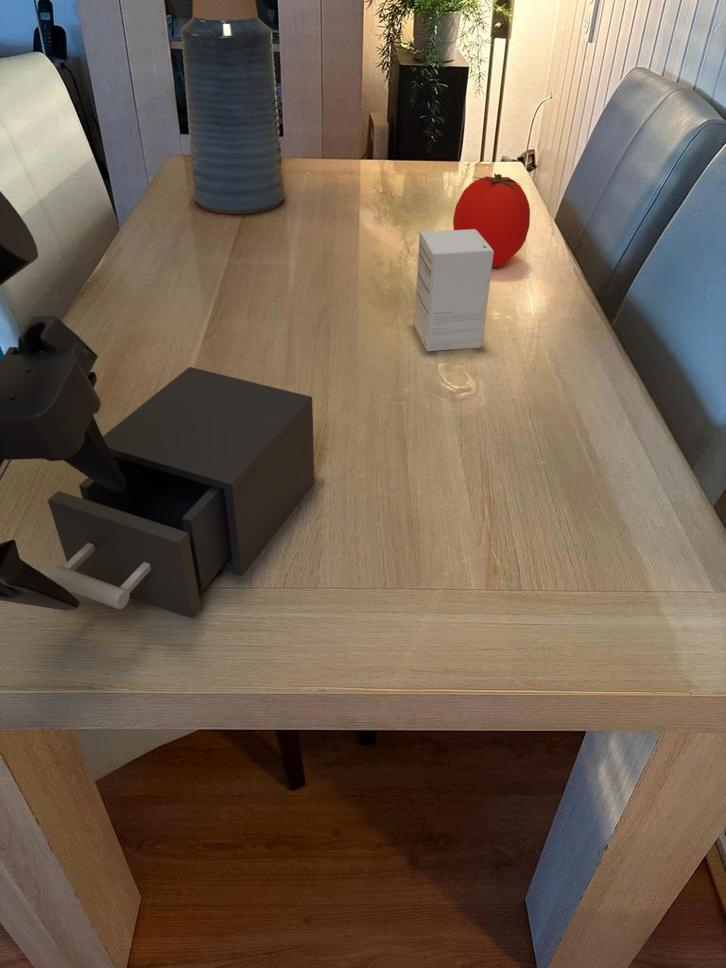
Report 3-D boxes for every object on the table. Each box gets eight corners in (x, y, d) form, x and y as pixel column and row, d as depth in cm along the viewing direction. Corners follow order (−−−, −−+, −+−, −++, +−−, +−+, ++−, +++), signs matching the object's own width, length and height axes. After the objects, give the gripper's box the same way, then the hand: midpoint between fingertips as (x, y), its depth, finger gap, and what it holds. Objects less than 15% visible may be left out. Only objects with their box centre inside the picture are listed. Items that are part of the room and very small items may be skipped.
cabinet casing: (242, 576, 61) (232, 484, 55) (115, 534, 65) (93, 443, 59) (314, 483, 71) (312, 396, 65) (201, 450, 74) (189, 366, 69)
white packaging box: (466, 322, 98) (477, 227, 91) (482, 349, 93) (496, 250, 85) (412, 325, 97) (418, 229, 90) (424, 352, 92) (433, 252, 84)
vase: (179, 196, 137) (153, -8, 117) (256, 182, 145) (244, -12, 125) (221, 222, 127) (200, 2, 107) (301, 205, 135) (296, -2, 115)
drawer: (159, 660, 53) (141, 583, 48) (33, 611, 56) (4, 534, 51) (271, 520, 65) (266, 447, 60) (162, 486, 68) (149, 415, 64)
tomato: (496, 245, 121) (508, 159, 113) (539, 273, 112) (555, 182, 104) (433, 254, 117) (440, 166, 109) (472, 284, 108) (483, 191, 100)
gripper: (-121, 472, 28) (154, 660, 38) (59, 209, 40) (232, 405, 50) (-274, 536, 32) (7, 688, 42) (-72, 284, 44) (110, 449, 54)
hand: (99, 544), depth 47 cm, fingers open, 9 cm apart
